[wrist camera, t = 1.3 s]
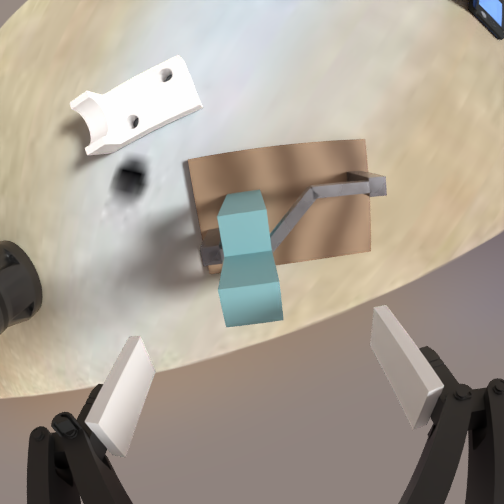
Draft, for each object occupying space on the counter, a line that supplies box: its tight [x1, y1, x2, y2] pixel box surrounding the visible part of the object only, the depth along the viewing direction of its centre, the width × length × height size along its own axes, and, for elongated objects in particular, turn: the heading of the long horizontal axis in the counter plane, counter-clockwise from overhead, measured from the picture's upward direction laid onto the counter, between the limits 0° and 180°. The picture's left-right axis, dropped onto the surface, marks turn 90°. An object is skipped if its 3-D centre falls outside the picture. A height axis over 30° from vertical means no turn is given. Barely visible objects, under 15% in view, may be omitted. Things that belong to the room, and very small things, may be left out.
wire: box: [200, 171, 387, 266], centre depth 32 cm, size 21×4×7 cm, turn 118°
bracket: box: [70, 55, 203, 156], centre depth 28 cm, size 13×7×8 cm, turn 111°
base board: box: [188, 139, 371, 274], centre depth 36 cm, size 22×15×1 cm
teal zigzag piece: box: [217, 190, 283, 327], centre depth 28 cm, size 4×10×18 cm, turn 8°
